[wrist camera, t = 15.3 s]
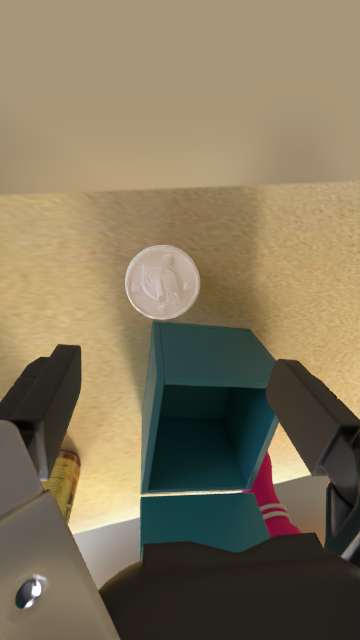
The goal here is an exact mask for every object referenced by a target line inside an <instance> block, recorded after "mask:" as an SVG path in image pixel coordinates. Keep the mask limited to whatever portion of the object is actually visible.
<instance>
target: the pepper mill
mask: <svg viewBox="0 0 360 640" xmlns="http://www.w3.org/2000/svg"><path fill="white" fill-rule="evenodd" d="M243 493H253V494H254V496H255V499H256V501H257V504H258V506H259V509H260V511H261V514H262V516H263V519H264V521H265V524H266V527H267V529H268V532H269V534H270V537H271V538H272V537H274V536H276V535H285V534H300V533H301V532H300V530H299V529H298V528H297V527H295V526H294V525H292V524H291V518H290V516H289V515H288V513H287V509H286V507H285V506H283V505H281V504H280V502H279V500H278V499H277V496H276V494H275V491H274V487H273V483H272V465H271V460H270V456H269V454H268V451H267V452H266V455H265V457H264V460H263V462H262V464H261V467H260V469H259V472H258V474H257V477H256V479H255V481H254V484H253V486H252V489H251V490H248V491H246V490H245V491H243Z"/></svg>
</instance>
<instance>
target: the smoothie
mask: <svg viewBox="0 0 360 640" xmlns="http://www.w3.org/2000/svg"><path fill="white" fill-rule="evenodd" d="M125 288H126V293H127V296H128V298H129V300H130V302H131V304H132V305H133V306H134V307H135V308H136V309H137V310H138V311H139V312H140V313H142V314H143V315H145V316H147V317H150V318H153V319H160V320H165V319H172V318H175V317H178V316H180V315H182V314H183V313H185V312H186V311H187V310H188V309H190V307H191V306H192V305H193V304H194V302H195V301H196V299H197V297H198V294H199V290H200V276H199V272H198V269H197V267H196V265H195V263H194V262H193V260H192V258H191V257H190V256H189V255H187V254H186V253H185V252H184V251H182V250H180V249H178V248H176V247H174V246H169V245H154V246H152V247H149V248H146V249H144V250H143V251H141V252H140V253H138V254H137V255H136V256H135V257H134V259H133V260H132V261H131V262H130V264H129V267H128V269H127V271H126V279H125Z"/></svg>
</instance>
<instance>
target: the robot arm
mask: <svg viewBox="0 0 360 640" xmlns="http://www.w3.org/2000/svg"><path fill="white" fill-rule="evenodd" d="M81 379H82V377H81V347H80V346H79V345H63V344H58V345H57V346H56V348H55V350H54V351H53V353H52V354H51V356H50V357H40V358H38V359H37V360H35V361H33V362H32V363H30V364H29V365H28V366H27V367H26V368H25V370H24V371H23V372H22V374H21V375H20V377H19V378H18V379H17V380H16V382H15V383H14V386H12V387H11V388H10V390H9V391H8V393H7V394H6V395H5V397H4V398H3V399H2V401H1V402H0V640H360V420H359V419H358V418H357V417H356V416H355V415H354V414H353V413H352V412H351V411H350V410H349V409H348V407H347V406H346V405H345V404H344V403H343V402H342V401H341V400H340V399H337V396H336V395H335V394H334V393H333V392H332V391H329V390H330V389H329V388H328V387H327V386H326V385H325V384H324V383H323V382H322V381H321V380H319V379H318V378H316V377H315V376H313V375H312V374H311V373H310V372H309V371H308V370H307V369H306V368H305V367H304V366H303V365H302V364H301V363H300V362H299V361H297V360H288V359H278V360H277V361H276V363H275V365H274V368H273V370H272V373H271V376H270V379H269V382H268V384H267V387H266V399H267V402H268V404H269V406H270V407H271V409H272V411H273V412H274V414H275V415H276V417H277V419H278V420H279V422H280V424H281V425H282V427H283V429H284V430H285V432H286V433H287V435H288V437H289V438H290V440H291V442H292V443H293V445H294V447H295V448H296V450H297V452H298V453H299V455H300V456H301V458H302V460H303V461H304V463H305V465H306V466H307V468H308V470H309V471H310V473H311V475H312V476H328V477H329V479H330V481H329V483H328V485H327V489H326V490H327V491H326V492H327V493H326V537H325V545H324V549H323V547H322V545H321V543H320V541H319V539H318V537H317V535H316V533H300V534H285V535H276V536H274V537H272V538H269V539H267V540H265V541H263V542H261V543H259V544H257V545H255V546H253V547H251V548H249V549H247V550H245V551H242V552H238V553H236V552H231V551H227V550H223V549H219V548H215V547H212V546H208V545H204V544H200V543H196V542H192V541H179V542H164V543H149V544H143V548H142V554H141V560H140V561H138V562H136V563H134V564H132V565H129V566H128V567H126V568H125V569H123V570H121V571H120V572H118V573H117V574H116V575H114V576H113V577H112V578H111V579H110V580H108V581H107V582H106V583H105V584H104V585H103V586H102V587H101V588H100V589H99V590H97V588H96V585H95V583H94V581H93V579H92V577H91V575H90V572H89V570H88V568H87V566H86V564H85V561H84V559H83V557H82V555H81V553H80V551H79V548H78V546H77V544H76V542H75V540H74V538H73V535H72V533H71V531H70V529H69V527H68V525H67V522H66V520H65V518H64V516H63V514H62V512H61V509H60V507H59V505H58V503H57V501H56V499H55V497H54V495H53V493H52V492H51V490H49V489H47V490H45V488H44V487H43V485H42V482H41V481H49V478H50V475H51V473H52V470H53V467H54V464H55V461H56V459H57V456H58V453H59V450H60V448H61V445H62V442H63V439H64V436H65V434H66V431H67V428H68V425H69V422H70V420H71V417H72V414H73V411H74V408H75V406H76V403H77V400H78V397H79V394H80V389H81Z"/></svg>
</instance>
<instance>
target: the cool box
mask: <svg viewBox="0 0 360 640" xmlns="http://www.w3.org/2000/svg"><path fill="white" fill-rule="evenodd" d="M275 363H276V360H275V359H274V358H273V357H272V355H271V354H270V353H269V352H268V351H267V349H266V348H265V347H264V346H263V345H262V343H261V342H260V341H259V340H258V339H257V337H256V336H255V335H254V334H253V333H252V331H251V330H250V329H241V328H229V327H216V326H204V325H192V324H180V323H168V322H156V321H153V325H152V334H151V343H150V352H149V360H148V369H147V378H146V387H145V395H144V404H143V413H142V448H141V495H145V494H171V493H198V492H224V491H245V490H246V491H248V490H251V489H252V486H253V484H254V481H255V479H256V477H257V474H258V472H259V469H260V467H261V464H262V462H263V460H264V457H265V455H266V452H267V450H268V447H269V445H270V443H271V440H272V438H273V435H274V433H275V430H276V428H277V426H278V423H279V420H278V419H277V417H276V415H275V414H274V412H273V411H272V409H271V407H270V406H269V404H268V402H267V399H266V387H267V384H268V382H269V379H270V376H271V373H272V370H273V368H274V365H275Z"/></svg>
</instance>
